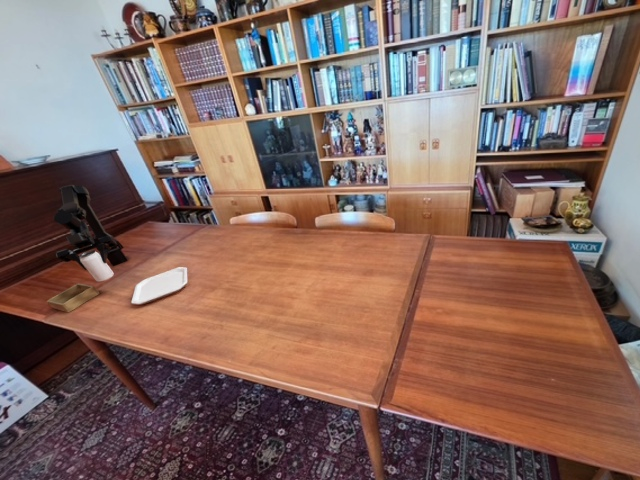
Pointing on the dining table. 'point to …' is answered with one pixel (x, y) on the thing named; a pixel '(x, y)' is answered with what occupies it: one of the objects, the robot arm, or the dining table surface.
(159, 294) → the plate
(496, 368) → the dining table surface
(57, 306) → the wooden frame
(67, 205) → the robot arm
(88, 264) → the can
